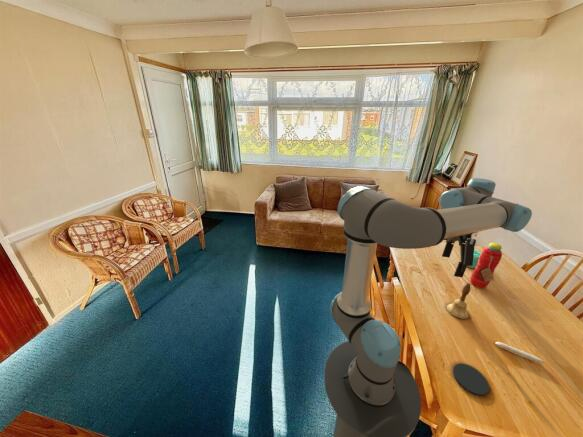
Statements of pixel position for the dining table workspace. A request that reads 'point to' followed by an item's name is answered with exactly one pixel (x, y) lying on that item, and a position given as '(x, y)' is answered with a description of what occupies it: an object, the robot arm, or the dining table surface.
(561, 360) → the dining table surface
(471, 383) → the corner coaster
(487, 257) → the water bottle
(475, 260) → the decorative dice
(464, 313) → the hand bell
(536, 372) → the dining table surface
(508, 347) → the pen
